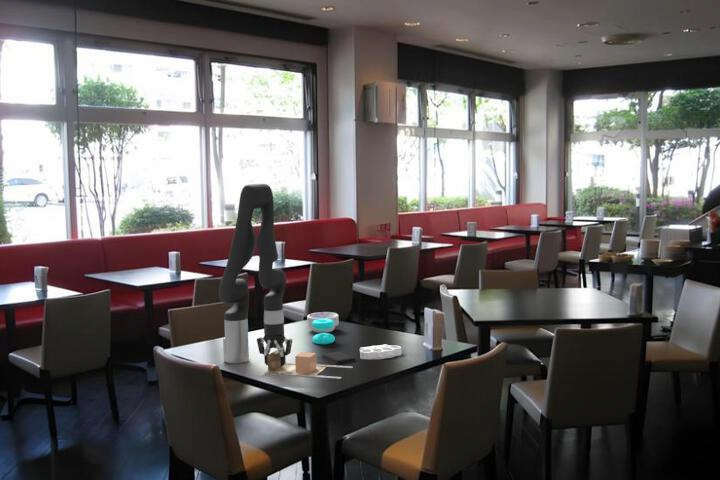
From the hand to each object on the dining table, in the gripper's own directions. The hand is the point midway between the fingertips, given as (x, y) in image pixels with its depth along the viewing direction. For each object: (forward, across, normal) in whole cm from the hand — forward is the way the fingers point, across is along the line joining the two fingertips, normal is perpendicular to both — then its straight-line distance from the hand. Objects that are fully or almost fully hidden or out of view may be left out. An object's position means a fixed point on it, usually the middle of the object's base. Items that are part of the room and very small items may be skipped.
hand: (275, 365), depth 248 cm
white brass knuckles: (+3, +33, +32) cm, 46 cm away
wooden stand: (+2, +8, 0) cm, 9 cm away
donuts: (+3, +2, +48) cm, 48 cm away
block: (+1, +12, 0) cm, 13 cm away
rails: (+2, +14, 0) cm, 15 cm away
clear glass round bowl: (+3, -6, +70) cm, 70 cm away
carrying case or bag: (+3, +20, +18) cm, 27 cm away
